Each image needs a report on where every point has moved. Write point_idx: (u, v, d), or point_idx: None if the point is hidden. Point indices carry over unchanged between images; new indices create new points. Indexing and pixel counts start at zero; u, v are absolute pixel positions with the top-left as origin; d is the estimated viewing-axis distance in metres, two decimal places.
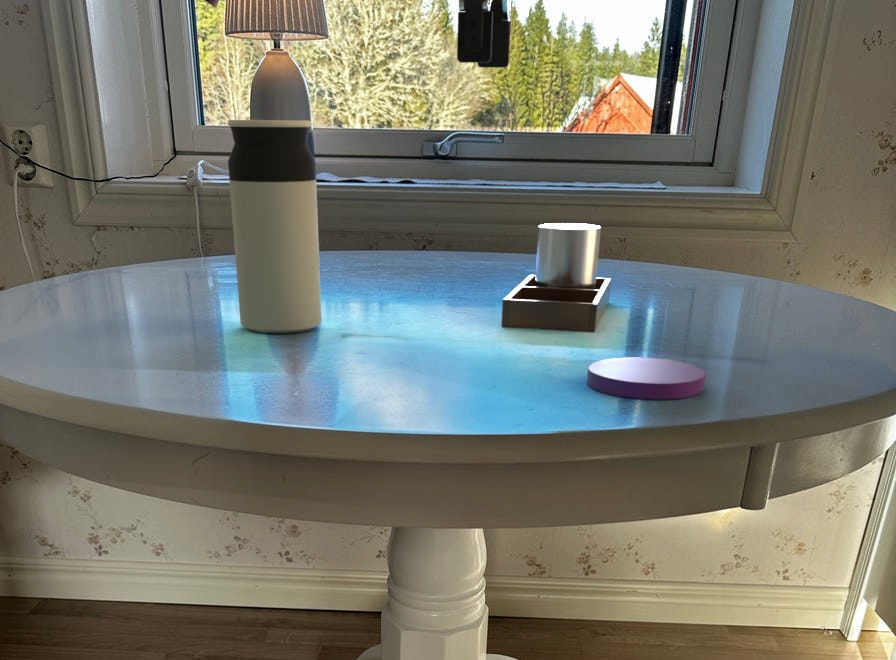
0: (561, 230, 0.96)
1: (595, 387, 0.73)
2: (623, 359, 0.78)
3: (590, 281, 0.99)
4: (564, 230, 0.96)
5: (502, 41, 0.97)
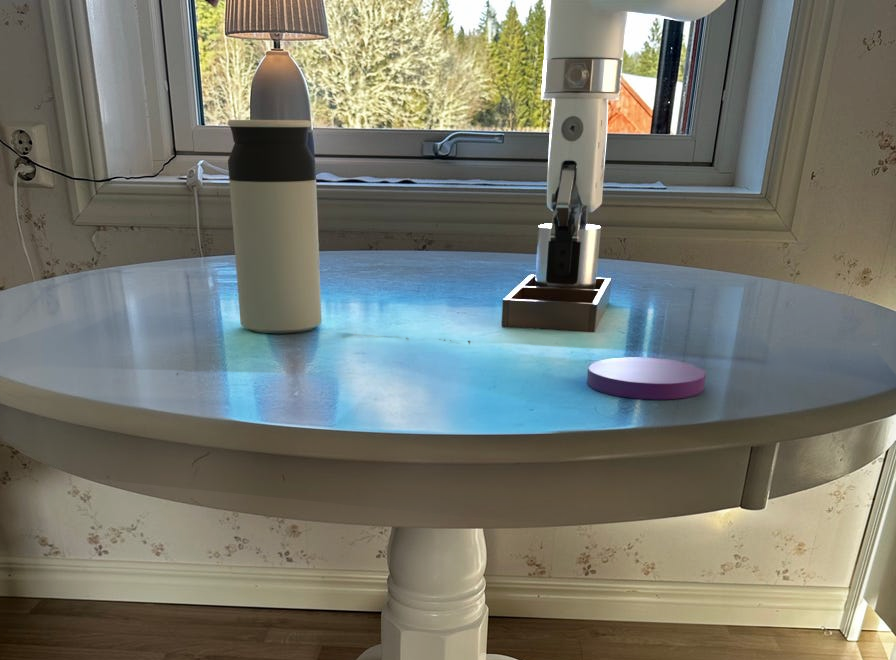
0: None
1: (595, 387, 0.73)
2: (623, 359, 0.78)
3: (590, 281, 0.99)
4: None
5: None
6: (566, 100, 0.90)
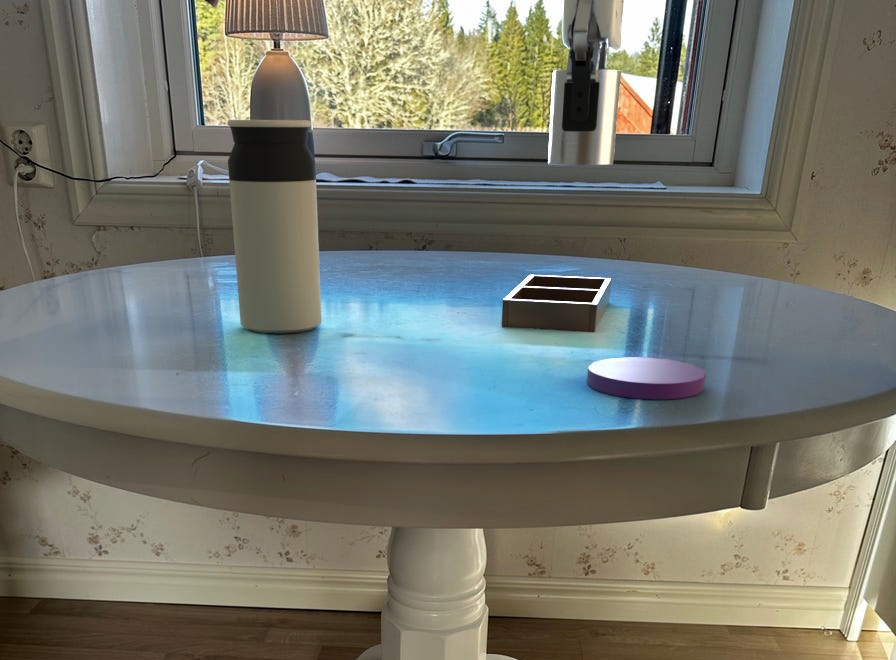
0: None
1: (595, 387, 0.73)
2: (623, 359, 0.78)
3: (610, 130, 0.91)
4: None
5: None
6: None
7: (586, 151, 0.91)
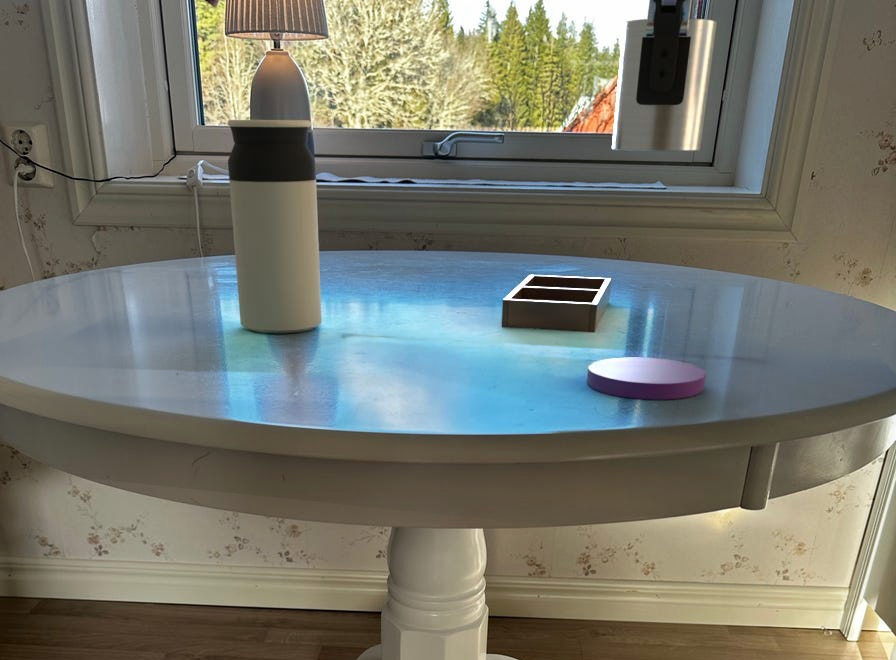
0: None
1: (595, 387, 0.73)
2: (623, 359, 0.78)
3: (700, 104, 0.68)
4: None
5: None
6: None
7: (667, 132, 0.68)
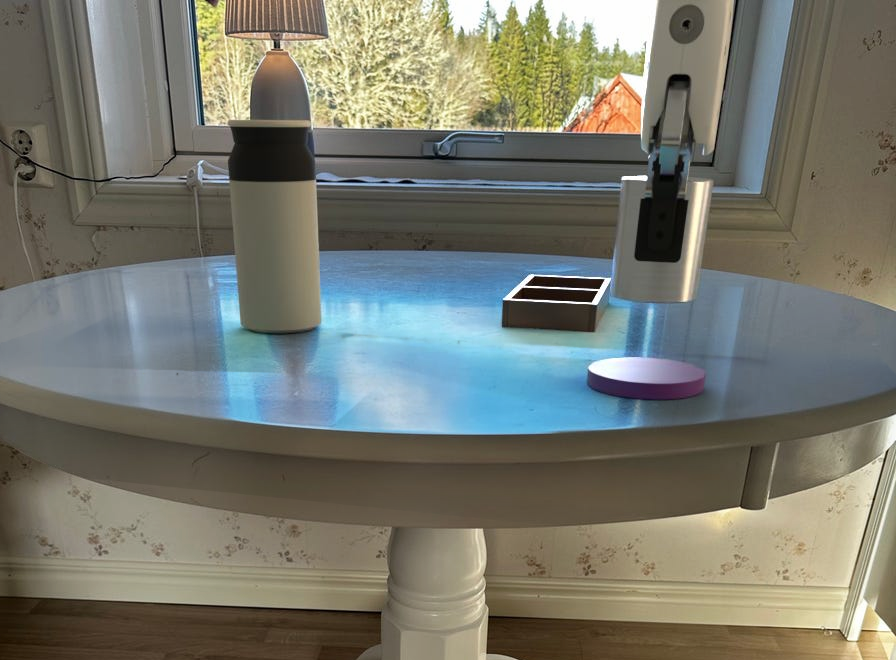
0: None
1: (595, 387, 0.73)
2: (623, 359, 0.78)
3: (696, 258, 0.68)
4: None
5: None
6: None
7: (664, 286, 0.68)
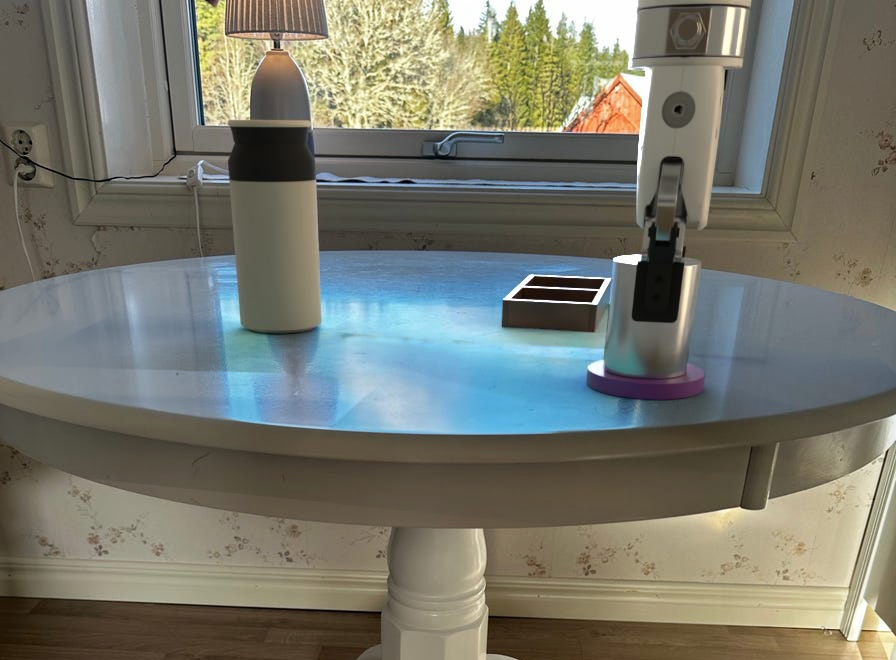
0: None
1: (595, 387, 0.73)
2: None
3: (686, 336, 0.71)
4: None
5: None
6: (670, 68, 0.61)
7: (655, 363, 0.71)
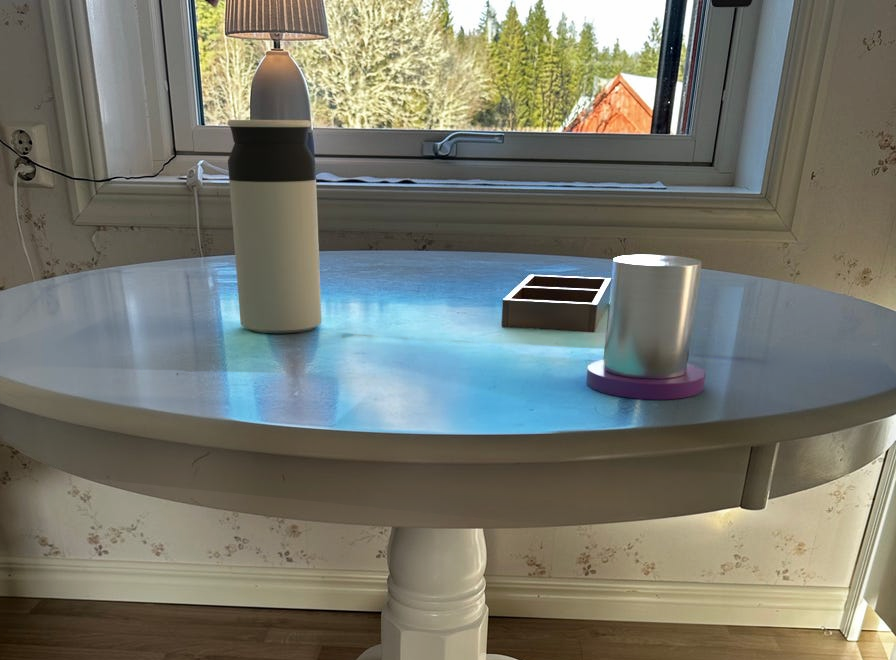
0: (648, 267, 0.68)
1: (595, 387, 0.73)
2: None
3: (686, 336, 0.71)
4: (653, 267, 0.68)
5: None
6: None
7: (655, 363, 0.71)
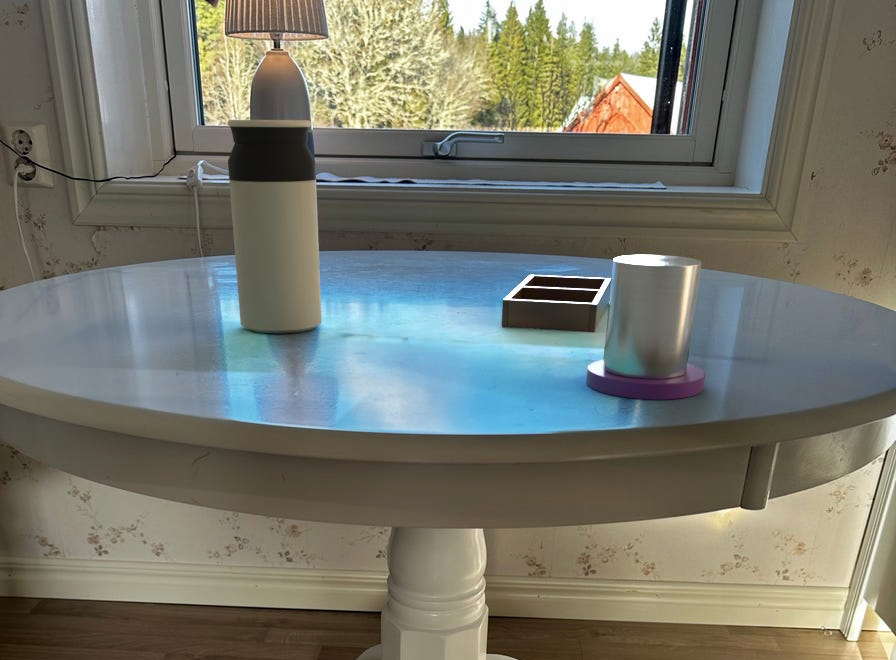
0: (648, 267, 0.68)
1: (595, 387, 0.73)
2: None
3: (686, 336, 0.71)
4: (653, 267, 0.68)
5: None
6: None
7: (655, 363, 0.71)
